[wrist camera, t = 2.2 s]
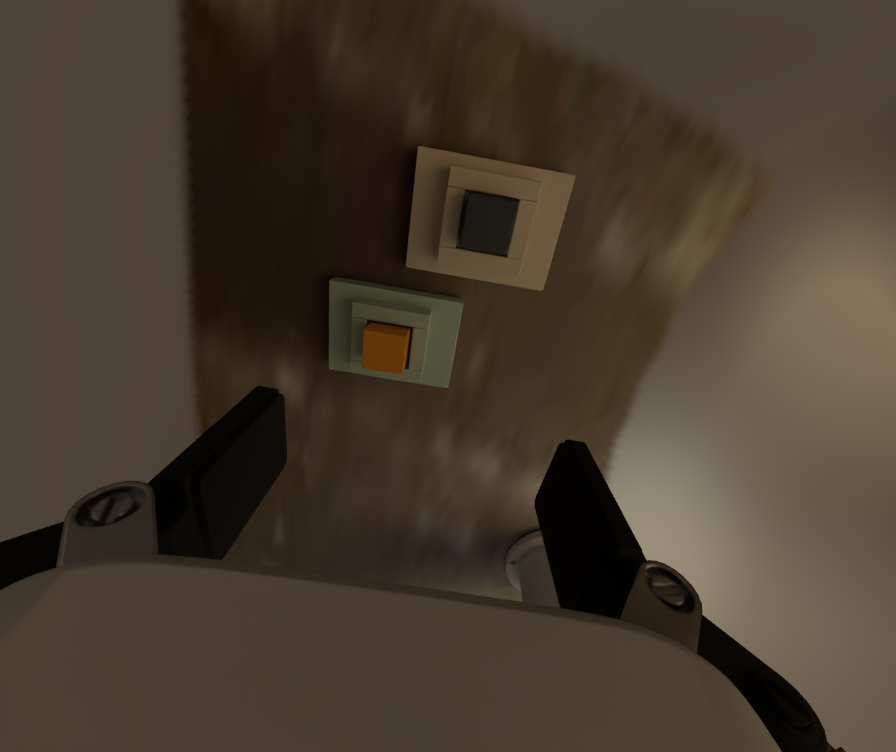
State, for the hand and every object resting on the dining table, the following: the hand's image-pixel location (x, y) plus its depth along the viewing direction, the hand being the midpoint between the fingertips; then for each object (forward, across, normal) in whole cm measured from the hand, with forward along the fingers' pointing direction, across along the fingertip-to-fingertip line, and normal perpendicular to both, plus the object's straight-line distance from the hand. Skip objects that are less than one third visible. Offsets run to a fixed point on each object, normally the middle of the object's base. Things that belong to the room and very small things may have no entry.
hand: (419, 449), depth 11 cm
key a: (+17, -2, -7) cm, 18 cm away
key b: (+16, +4, +4) cm, 17 cm away
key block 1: (+20, +4, +4) cm, 20 cm away
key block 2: (+20, -2, -7) cm, 21 cm away
